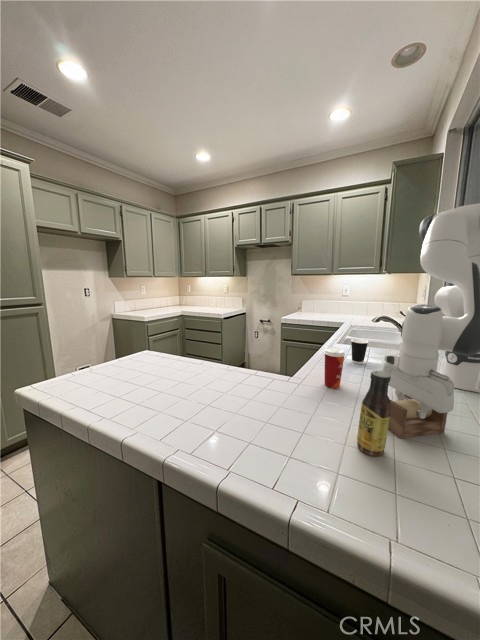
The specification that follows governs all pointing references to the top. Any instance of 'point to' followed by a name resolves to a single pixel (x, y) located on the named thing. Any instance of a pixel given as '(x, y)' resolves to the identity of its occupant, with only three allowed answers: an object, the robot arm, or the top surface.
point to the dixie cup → (358, 350)
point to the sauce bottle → (375, 415)
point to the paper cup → (333, 366)
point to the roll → (412, 407)
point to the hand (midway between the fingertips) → (410, 411)
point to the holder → (414, 423)
